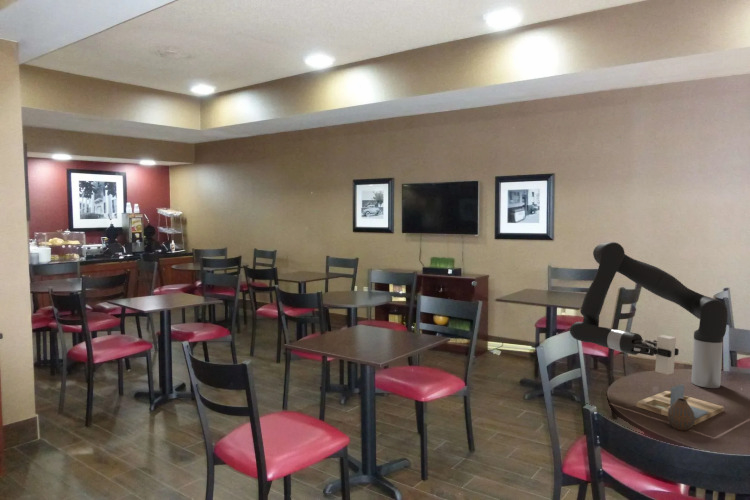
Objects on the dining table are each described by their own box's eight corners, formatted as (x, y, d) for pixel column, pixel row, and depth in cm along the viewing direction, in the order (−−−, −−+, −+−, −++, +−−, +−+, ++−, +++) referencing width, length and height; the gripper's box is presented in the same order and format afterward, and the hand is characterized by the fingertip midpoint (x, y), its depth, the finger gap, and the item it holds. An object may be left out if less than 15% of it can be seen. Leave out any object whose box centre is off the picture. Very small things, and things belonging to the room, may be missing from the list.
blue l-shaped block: (680, 405, 167) (681, 383, 166) (707, 413, 160) (708, 390, 160) (668, 410, 162) (669, 388, 162) (695, 418, 156) (696, 395, 155)
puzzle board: (666, 396, 182) (666, 390, 182) (723, 412, 167) (723, 406, 167) (636, 407, 170) (636, 401, 170) (694, 426, 156) (694, 420, 156)
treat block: (661, 369, 174) (663, 334, 173) (673, 372, 170) (675, 337, 169) (655, 371, 171) (657, 336, 170) (667, 374, 168) (669, 338, 167)
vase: (690, 425, 157) (692, 397, 156) (696, 434, 150) (698, 405, 150) (665, 421, 159) (666, 394, 159) (670, 430, 153) (671, 402, 152)
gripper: (613, 333, 178) (664, 344, 164) (636, 329, 186) (686, 339, 172) (612, 354, 179) (662, 367, 164) (634, 349, 186) (684, 361, 172)
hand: (674, 353), depth 168 cm, fingers closed on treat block, 4 cm apart
